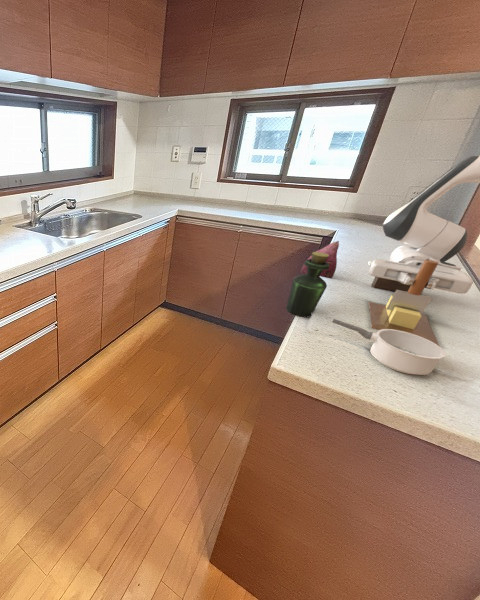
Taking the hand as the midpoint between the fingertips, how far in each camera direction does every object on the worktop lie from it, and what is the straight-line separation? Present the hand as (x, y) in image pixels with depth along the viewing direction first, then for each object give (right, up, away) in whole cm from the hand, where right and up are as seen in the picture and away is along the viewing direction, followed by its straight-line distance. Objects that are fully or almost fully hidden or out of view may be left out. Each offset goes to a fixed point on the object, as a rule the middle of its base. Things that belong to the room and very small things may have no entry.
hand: (420, 284), depth 84 cm
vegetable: (+2, +6, +40) cm, 40 cm away
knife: (0, -8, +5) cm, 9 cm away
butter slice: (-1, -11, +4) cm, 12 cm away
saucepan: (-18, -17, -6) cm, 26 cm away
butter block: (+3, -8, +9) cm, 13 cm away
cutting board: (0, -11, +6) cm, 13 cm away
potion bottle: (-24, -8, +12) cm, 28 cm away
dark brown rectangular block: (+18, -1, +27) cm, 32 cm away
